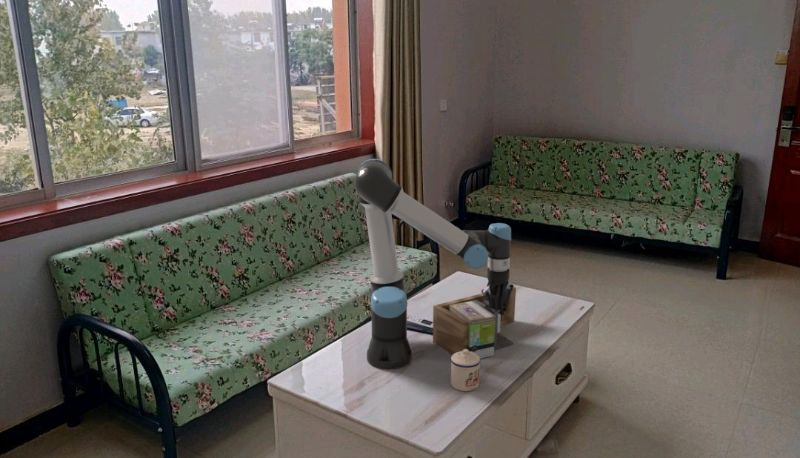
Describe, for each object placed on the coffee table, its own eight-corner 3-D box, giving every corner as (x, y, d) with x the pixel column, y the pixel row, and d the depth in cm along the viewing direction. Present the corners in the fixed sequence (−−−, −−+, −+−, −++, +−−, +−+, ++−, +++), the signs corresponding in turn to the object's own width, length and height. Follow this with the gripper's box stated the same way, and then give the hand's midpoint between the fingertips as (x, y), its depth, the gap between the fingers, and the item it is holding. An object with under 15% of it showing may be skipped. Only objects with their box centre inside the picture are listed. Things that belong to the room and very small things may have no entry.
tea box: (495, 355, 213) (496, 315, 209) (468, 361, 209) (469, 320, 205) (473, 337, 226) (473, 299, 222) (448, 343, 222) (448, 304, 218)
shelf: (462, 362, 209) (463, 323, 205) (432, 342, 223) (433, 305, 219) (542, 336, 227) (544, 300, 223) (510, 319, 241) (512, 285, 237)
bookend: (492, 350, 217) (494, 312, 213) (471, 337, 227) (472, 300, 223) (513, 343, 221) (515, 306, 218) (491, 331, 231) (492, 295, 227)
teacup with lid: (468, 395, 189) (469, 360, 186) (444, 385, 195) (444, 351, 191) (490, 379, 198) (491, 346, 195) (466, 370, 204) (467, 337, 200)
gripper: (490, 274, 211) (488, 339, 218) (520, 267, 218) (516, 330, 224) (476, 268, 217) (474, 331, 224) (505, 261, 224) (503, 322, 230)
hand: (495, 330), depth 224 cm, fingers closed
